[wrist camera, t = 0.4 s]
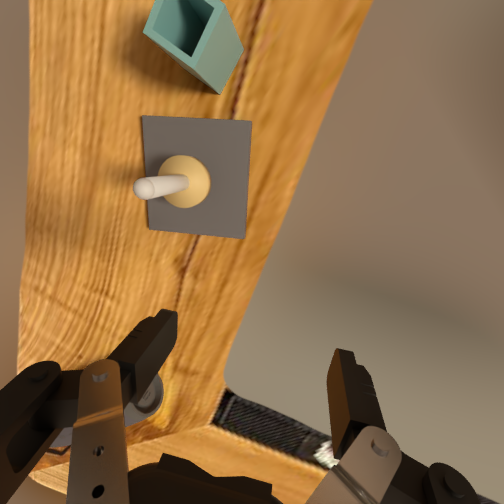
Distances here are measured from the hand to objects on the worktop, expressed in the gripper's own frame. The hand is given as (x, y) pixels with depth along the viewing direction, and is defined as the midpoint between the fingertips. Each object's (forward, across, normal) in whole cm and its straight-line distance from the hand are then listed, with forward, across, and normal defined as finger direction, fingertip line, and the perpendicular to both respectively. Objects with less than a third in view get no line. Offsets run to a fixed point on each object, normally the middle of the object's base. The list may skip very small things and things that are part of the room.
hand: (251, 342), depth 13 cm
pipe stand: (+28, +13, -2) cm, 31 cm away
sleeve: (+29, +12, -17) cm, 36 cm away
